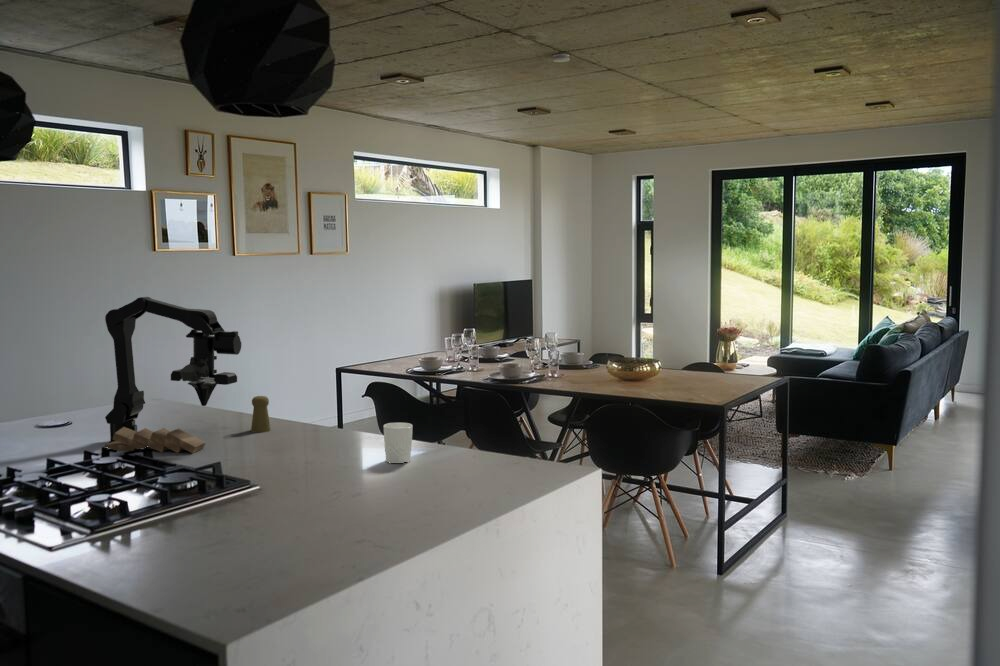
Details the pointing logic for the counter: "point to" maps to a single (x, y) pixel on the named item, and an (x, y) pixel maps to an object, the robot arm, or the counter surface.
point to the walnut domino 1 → (119, 446)
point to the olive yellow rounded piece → (260, 414)
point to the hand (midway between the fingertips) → (203, 405)
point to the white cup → (398, 442)
